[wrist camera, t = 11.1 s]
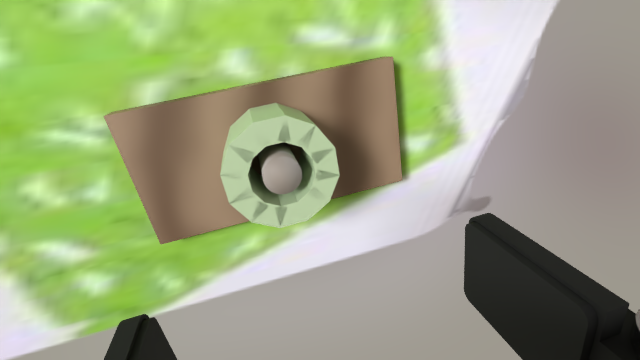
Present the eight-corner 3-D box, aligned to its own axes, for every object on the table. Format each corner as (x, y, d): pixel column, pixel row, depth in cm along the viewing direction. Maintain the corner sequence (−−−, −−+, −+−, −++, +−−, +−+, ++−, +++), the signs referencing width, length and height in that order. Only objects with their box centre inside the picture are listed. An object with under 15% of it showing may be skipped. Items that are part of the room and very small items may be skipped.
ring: (310, 95, 23) (328, 105, 19) (326, 182, 26) (345, 210, 22) (212, 116, 22) (206, 132, 18) (240, 205, 25) (240, 238, 21)
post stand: (384, 56, 25) (429, 58, 19) (394, 174, 29) (434, 205, 23) (111, 112, 22) (66, 134, 16) (164, 234, 26) (143, 287, 20)
